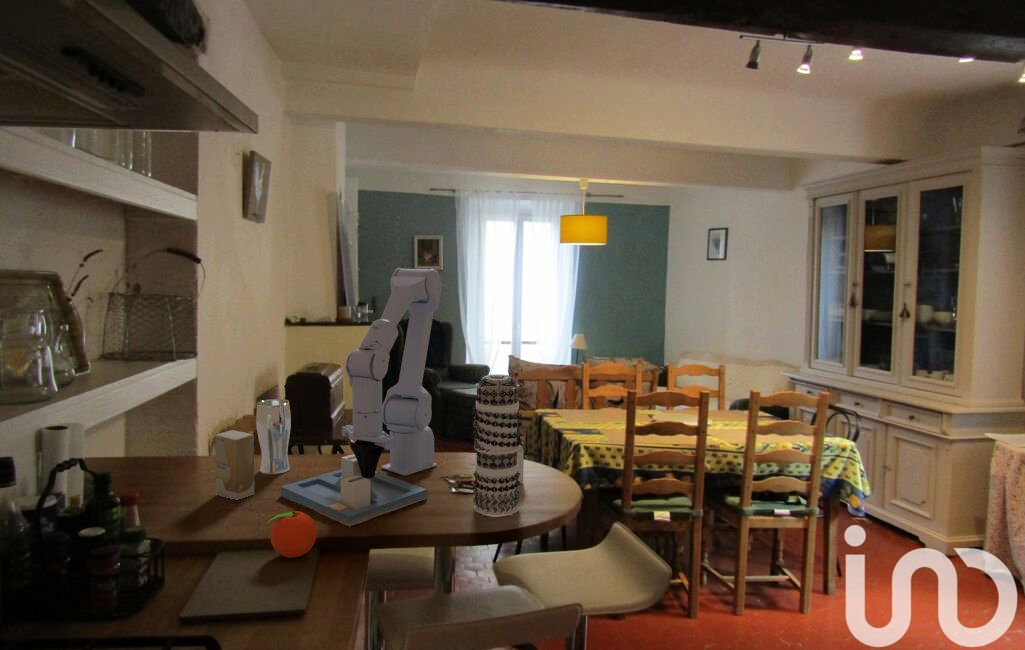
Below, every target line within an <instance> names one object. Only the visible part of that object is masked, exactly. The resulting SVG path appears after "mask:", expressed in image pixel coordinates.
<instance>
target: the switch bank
mask: <svg viewBox="0 0 1025 650" xmlns="http://www.w3.org/2000/svg"><path fill="white" fill-rule="evenodd" d="M341 480H342V470H341V468H340V469H337V470H335V471H330V472H327V473H323V474H319V475H317V476H312V477H310V478H305V479H302V480H299V481H295V482H292V483H287V484H283V485H282V486H280V497H281V496H282V497H281V498H283V497H284V498H283V499H286V498H287V499H286V500H288V499H289V501H290V500H292V501H294V502H297V503H299V504H301V505H303V506H306V507H308V508H310V509H313V510H315V511H318V512H321V513H323V514H326V515H328V516H331V517H333V518H335V519H338V520H340V521H343V522H346V523H348V524H350V523H353V522H356V521H359V520H362V519H364V518H367V517H370V516H373V515H376V514H379V513H382V512H385V511H389V510H391V509H394V508H397V507H400V506H403V505H406V504H409V503H412V502H415V501H418V500H422V499H424V498H427V499H428V489H427V488H425V487H421V486H419V485H417V484H416V485H415V484H413V483H411V482H410V483H409V482H408V481H404V480H401V479H399V478H396V477H393V476H390V475H387V474H385V473H382V472H378V471H376V472H375V476H374V477H373V478H370V479H369V480H370V504H371V505H370V506H367V507H364V508H361V509H358V510H354V509H352V508H350V507H347V506H345V505H343V504H341ZM292 501H291V502H292ZM294 502H293V503H294ZM299 504H298V505H299ZM301 505H300V506H301ZM303 506H302V507H303ZM310 509H309V510H310Z"/></svg>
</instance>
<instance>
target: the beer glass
mask: <svg viewBox="0 0 1025 650" xmlns="http://www.w3.org/2000/svg"><path fill="white" fill-rule="evenodd" d="M290 408H291V407H290V400H288V399H285V398H270V399H264V400H261V401H258V402H256V419H255V421H256V422H255V423H256V431H257V436H258V437H257V439H258V441H259V447H260V450H261V462H260V467H259V468H260V469H259V472H260V473H261V474H262V475H269V476H270V475H272V476H273V475H274V476H275V475H281V474H285V473H287V472H289V471H290V469H291V467H290V463H289V462H290V461H289V457H288V451H289V450H288V449H289V448H288V447H289V441H290V435H291V429H292V427H291V426H292V424H291V423H292V421H291V420H292V419H291V418H292V417H291V409H290Z"/></svg>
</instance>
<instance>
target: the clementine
mask: <svg viewBox="0 0 1025 650" xmlns="http://www.w3.org/2000/svg"><path fill="white" fill-rule="evenodd" d="M277 518H278V519H277ZM275 519H276V521H275V523H274V524H273V525H272V527H271V531H270V541H271V545H272V547H273V549H274V551H275V552H277V554H279V555H281V556H282V557H285V558H292V559H293V558H299V557H302V556H303V555H305V554H307V553H308V552H309V551H311V549H312V547H314V544H315V542H316V540H317V536H318V535H317V534H318V531H317V525H316V523H315V521H314V519H313V518H312V517H311V516H310V515H308V514H307V513H304V512H302V511H287V512H283V513H279V514H276V515H275V516H274V517H272V518H270V519H269V520H268V522H266V525H265V526H264V529H263V530H265V529H266V527H267V525H268V524H269V523H270V522H271V521H273V520H275Z"/></svg>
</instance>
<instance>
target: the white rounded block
mask: <svg viewBox="0 0 1025 650" xmlns="http://www.w3.org/2000/svg"><path fill="white" fill-rule="evenodd" d="M519 446H520V448H519V450H518V451H517V463H518V472H519V473H520V476H519V478H518V481H519V482H520V483H519V485H520V484H522V483H523V482H524V460H525V459H524V457H525V456H524V448H523V446H522V445H521V444H520V445H519Z"/></svg>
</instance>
